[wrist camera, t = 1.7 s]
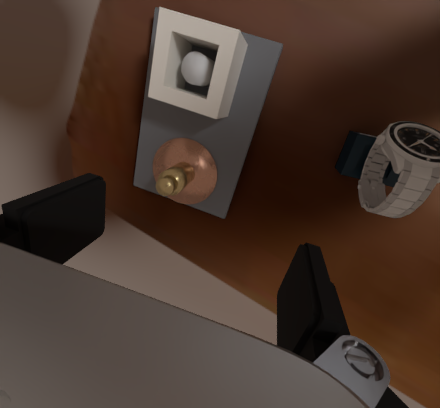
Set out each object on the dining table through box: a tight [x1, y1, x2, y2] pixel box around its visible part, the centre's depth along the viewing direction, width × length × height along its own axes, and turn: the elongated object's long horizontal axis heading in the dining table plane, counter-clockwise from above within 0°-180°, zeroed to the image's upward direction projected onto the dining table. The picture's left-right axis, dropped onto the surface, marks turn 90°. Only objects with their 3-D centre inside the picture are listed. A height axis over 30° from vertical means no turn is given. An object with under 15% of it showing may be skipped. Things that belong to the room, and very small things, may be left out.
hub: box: [153, 138, 217, 204], centre depth 29 cm, size 9×9×6 cm
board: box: [133, 7, 283, 219], centre depth 28 cm, size 21×14×6 cm, turn 164°
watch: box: [335, 121, 440, 218], centre depth 22 cm, size 6×8×11 cm
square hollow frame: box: [148, 7, 248, 119], centre depth 24 cm, size 7×7×6 cm
